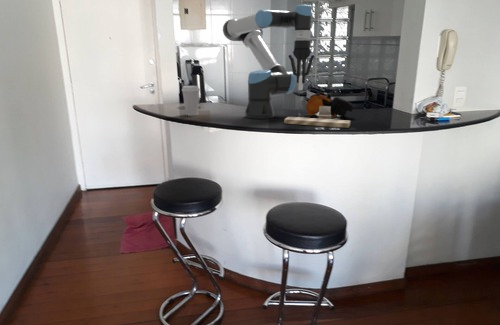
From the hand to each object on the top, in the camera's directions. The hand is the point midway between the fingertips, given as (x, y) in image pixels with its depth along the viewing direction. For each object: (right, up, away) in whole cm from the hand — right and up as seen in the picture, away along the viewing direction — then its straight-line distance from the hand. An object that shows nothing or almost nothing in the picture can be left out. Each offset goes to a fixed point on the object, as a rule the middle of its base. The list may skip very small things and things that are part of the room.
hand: (300, 89), depth 191 cm
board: (+7, -18, -9) cm, 21 cm away
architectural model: (+12, -16, 0) cm, 20 cm away
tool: (+16, -12, +11) cm, 23 cm away
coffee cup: (-56, -10, +16) cm, 60 cm away
